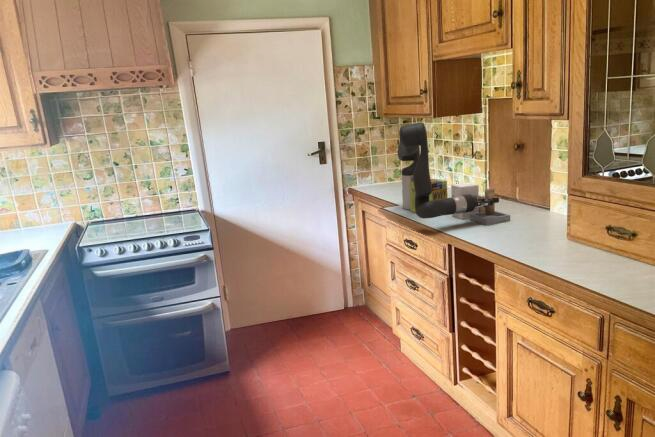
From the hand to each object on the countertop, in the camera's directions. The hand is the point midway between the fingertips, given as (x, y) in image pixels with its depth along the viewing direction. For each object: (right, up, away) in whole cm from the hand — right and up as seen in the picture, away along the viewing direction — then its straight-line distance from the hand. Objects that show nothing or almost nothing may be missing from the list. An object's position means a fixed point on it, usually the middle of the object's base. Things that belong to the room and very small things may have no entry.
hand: (495, 198), depth 225 cm
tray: (-2, -9, +1) cm, 10 cm away
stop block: (-4, -7, +14) cm, 16 cm away
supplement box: (-10, -8, +12) cm, 17 cm away
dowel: (-2, -7, +1) cm, 7 cm away
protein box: (-23, -6, +26) cm, 36 cm away
